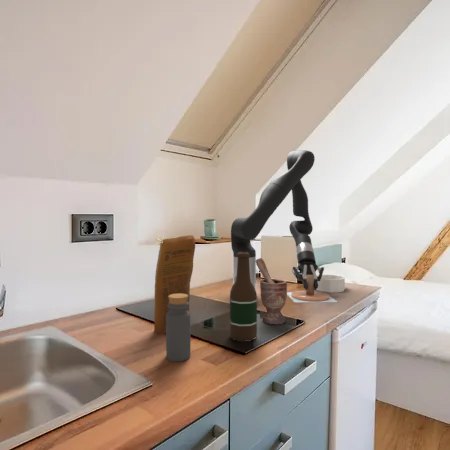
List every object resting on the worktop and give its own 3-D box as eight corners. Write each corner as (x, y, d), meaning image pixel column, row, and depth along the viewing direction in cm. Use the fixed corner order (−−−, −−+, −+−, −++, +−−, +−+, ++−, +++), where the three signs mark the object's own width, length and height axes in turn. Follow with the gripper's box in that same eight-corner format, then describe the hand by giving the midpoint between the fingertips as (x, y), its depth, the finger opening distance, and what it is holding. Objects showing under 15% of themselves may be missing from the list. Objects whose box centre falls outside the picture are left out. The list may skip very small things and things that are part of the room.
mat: (294, 303, 130) (294, 302, 130) (285, 293, 147) (285, 292, 147) (338, 303, 131) (338, 301, 131) (323, 293, 148) (323, 291, 148)
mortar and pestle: (247, 321, 109) (247, 259, 109) (258, 314, 117) (258, 256, 116) (280, 327, 103) (281, 262, 103) (290, 319, 111) (290, 259, 110)
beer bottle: (259, 334, 97) (259, 251, 97) (254, 344, 90) (254, 254, 89) (233, 331, 99) (233, 250, 99) (226, 341, 92) (226, 253, 91)
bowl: (319, 293, 147) (319, 280, 147) (310, 287, 160) (310, 274, 160) (348, 293, 147) (349, 279, 147) (337, 287, 160) (337, 274, 160)
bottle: (191, 351, 85) (191, 292, 85) (189, 361, 79) (189, 298, 79) (168, 351, 85) (167, 292, 84) (164, 362, 79) (164, 298, 78)
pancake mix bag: (202, 320, 110) (202, 235, 109) (162, 338, 94) (161, 238, 93) (186, 317, 114) (186, 234, 113) (144, 334, 98) (144, 237, 97)
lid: (296, 301, 131) (297, 278, 131) (287, 292, 146) (287, 272, 146) (334, 301, 132) (334, 278, 132) (321, 292, 147) (321, 271, 147)
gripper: (290, 249, 146) (294, 283, 134) (323, 249, 146) (330, 283, 134) (288, 260, 152) (292, 293, 140) (320, 260, 151) (326, 293, 139)
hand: (311, 288), depth 137 cm, fingers closed on lid, 3 cm apart
